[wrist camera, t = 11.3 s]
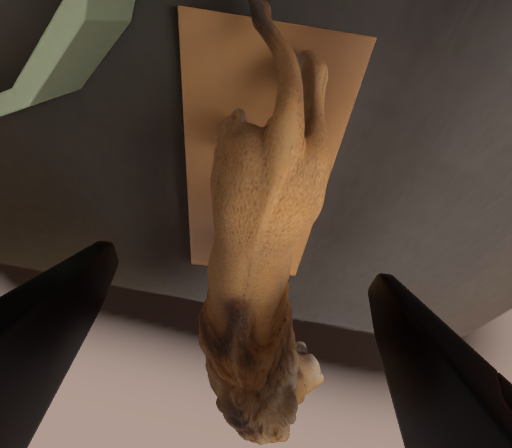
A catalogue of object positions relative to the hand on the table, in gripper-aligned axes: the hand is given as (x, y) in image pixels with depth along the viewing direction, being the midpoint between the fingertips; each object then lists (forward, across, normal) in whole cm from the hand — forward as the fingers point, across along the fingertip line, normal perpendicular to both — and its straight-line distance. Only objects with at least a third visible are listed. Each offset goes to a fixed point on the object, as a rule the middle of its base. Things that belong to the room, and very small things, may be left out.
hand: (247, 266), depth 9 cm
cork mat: (+6, 0, 0) cm, 6 cm away
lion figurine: (+6, -1, 0) cm, 6 cm away
